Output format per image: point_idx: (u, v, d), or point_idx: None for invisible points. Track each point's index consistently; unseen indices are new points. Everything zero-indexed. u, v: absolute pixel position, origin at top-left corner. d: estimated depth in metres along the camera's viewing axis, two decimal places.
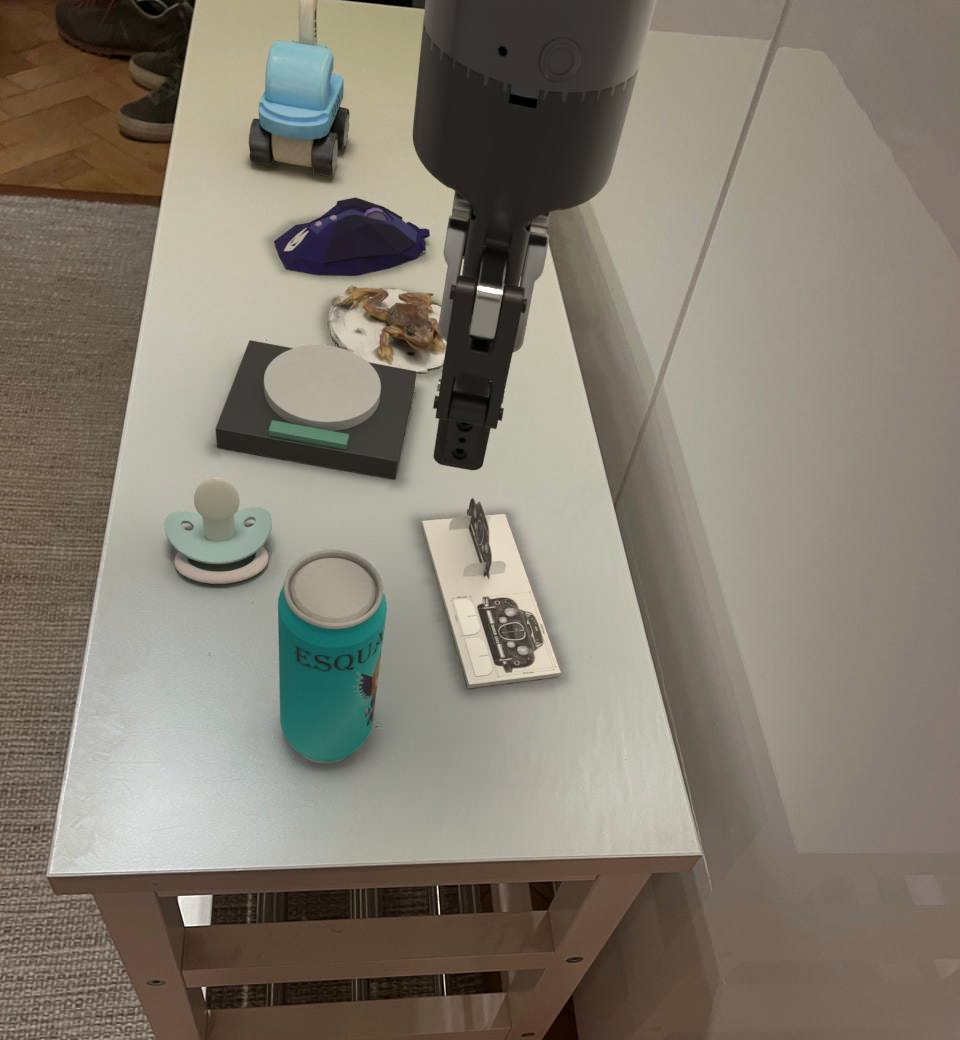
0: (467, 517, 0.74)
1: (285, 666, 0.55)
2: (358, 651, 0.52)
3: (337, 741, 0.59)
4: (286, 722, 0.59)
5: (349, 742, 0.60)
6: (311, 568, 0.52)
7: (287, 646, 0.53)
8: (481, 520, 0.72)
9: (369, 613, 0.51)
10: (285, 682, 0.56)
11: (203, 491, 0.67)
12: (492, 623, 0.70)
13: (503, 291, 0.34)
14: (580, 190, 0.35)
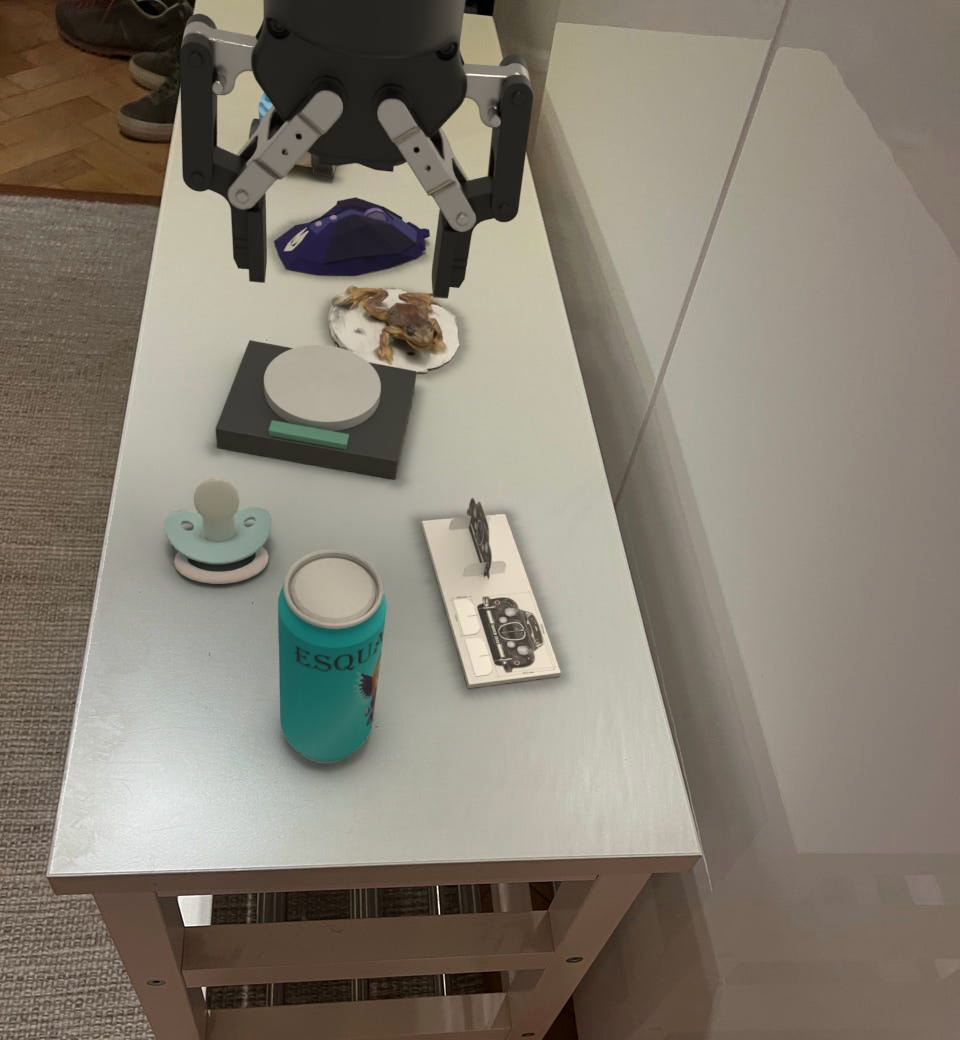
0: (467, 517, 0.74)
1: (285, 666, 0.55)
2: (358, 651, 0.52)
3: (337, 741, 0.59)
4: (286, 722, 0.59)
5: (349, 742, 0.60)
6: (311, 568, 0.52)
7: (287, 646, 0.53)
8: (481, 520, 0.72)
9: (369, 613, 0.51)
10: (285, 682, 0.56)
11: (203, 491, 0.67)
12: (492, 623, 0.70)
13: (190, 33, 0.37)
14: (288, 12, 0.35)
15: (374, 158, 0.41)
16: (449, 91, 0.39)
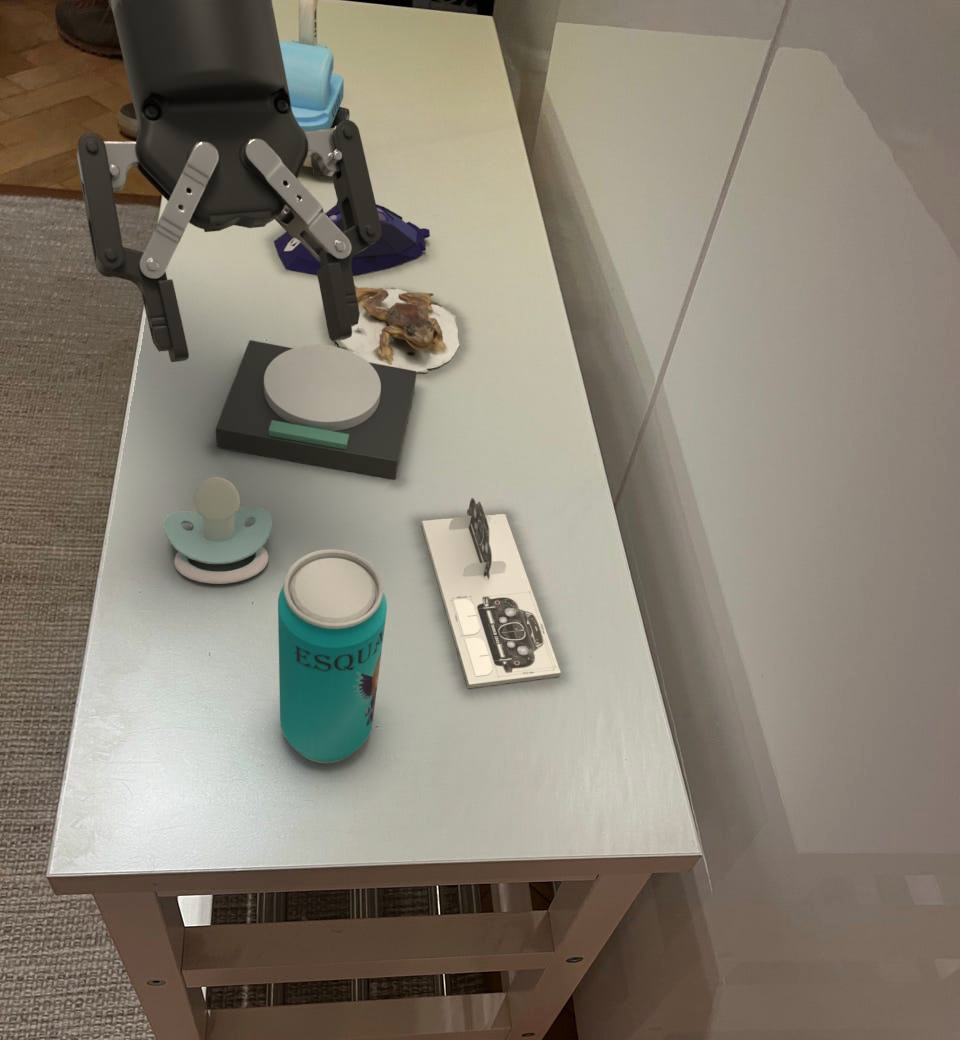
0: (468, 517, 0.74)
1: (285, 666, 0.55)
2: (358, 651, 0.52)
3: (337, 741, 0.59)
4: (286, 722, 0.59)
5: (349, 742, 0.60)
6: (311, 567, 0.52)
7: (287, 646, 0.53)
8: (481, 520, 0.72)
9: (369, 613, 0.51)
10: (285, 682, 0.56)
11: (203, 491, 0.67)
12: (492, 623, 0.70)
13: None
14: None
15: None
16: None
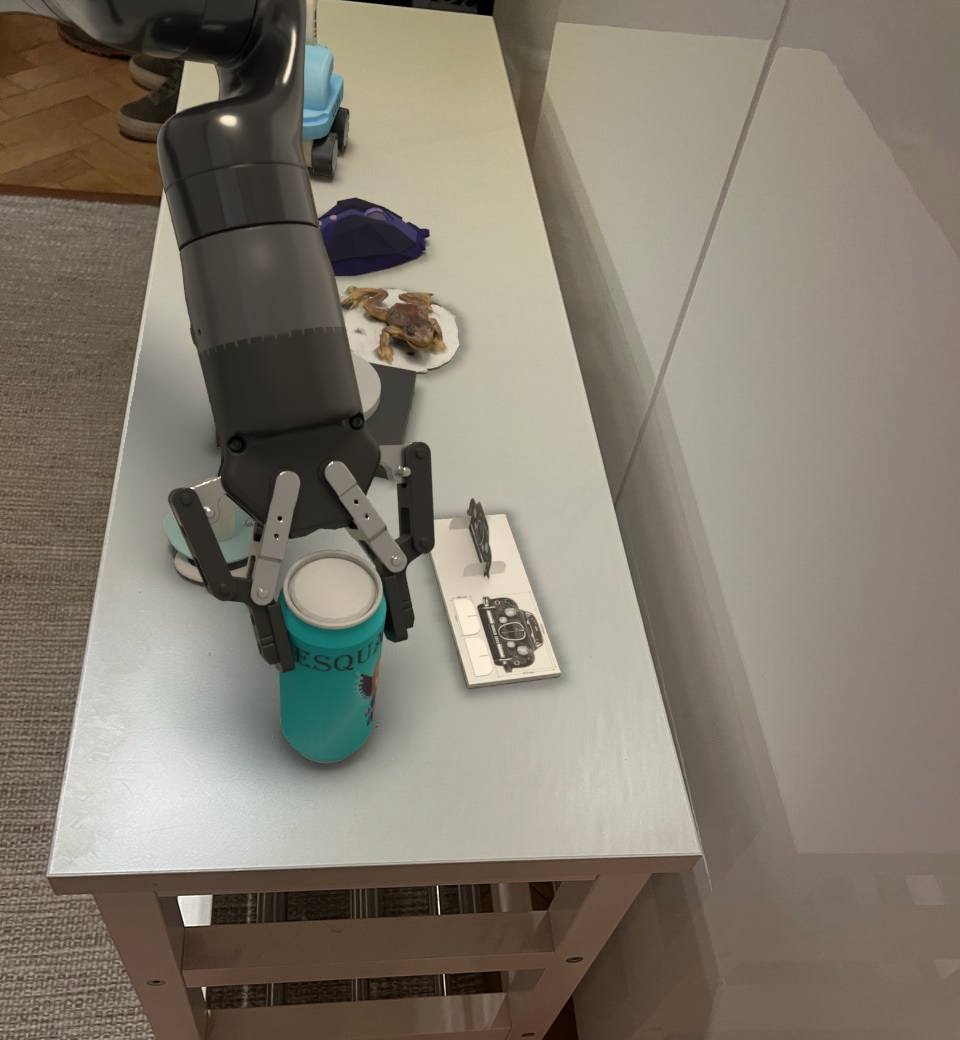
0: (468, 517, 0.74)
1: None
2: (358, 651, 0.52)
3: (337, 742, 0.59)
4: (286, 722, 0.59)
5: (349, 742, 0.60)
6: (311, 568, 0.52)
7: None
8: (481, 520, 0.72)
9: (369, 613, 0.51)
10: (285, 682, 0.56)
11: None
12: (492, 623, 0.70)
13: None
14: None
15: None
16: None
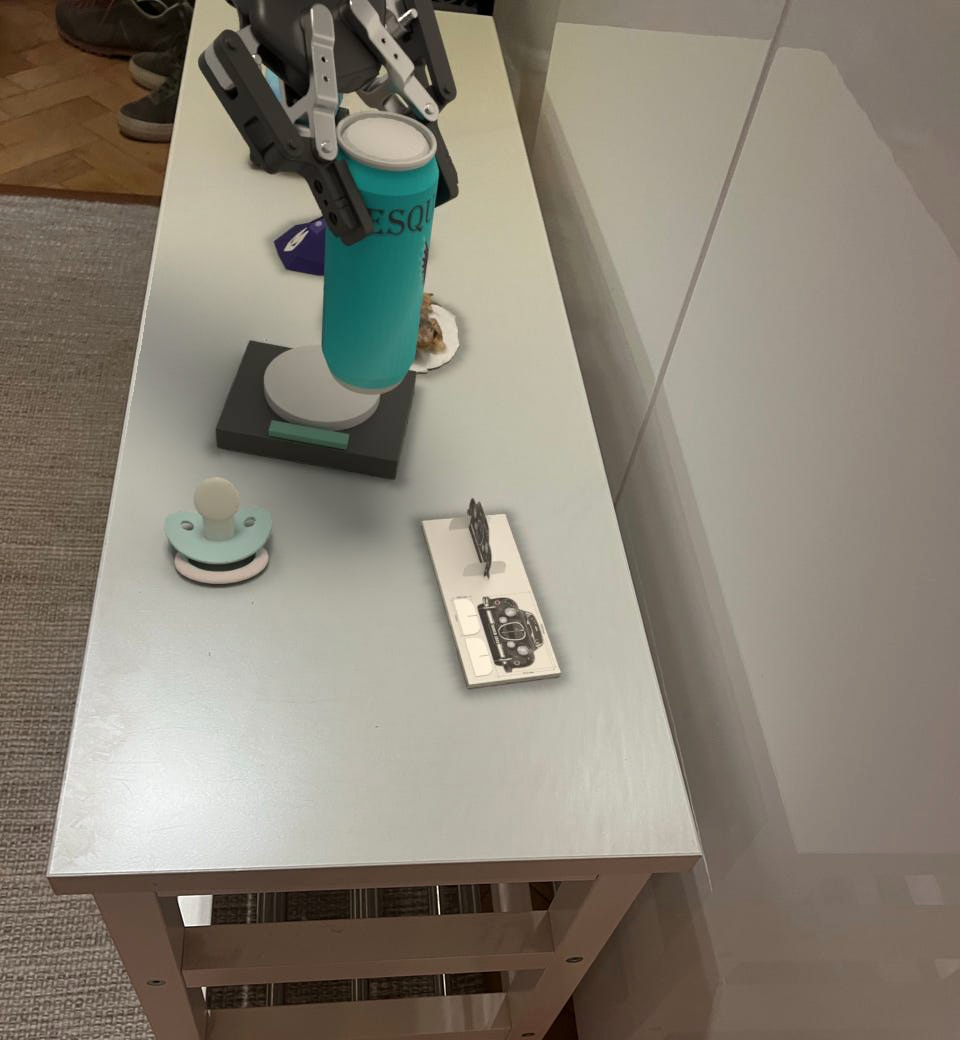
0: (468, 517, 0.74)
1: (348, 253, 0.53)
2: (427, 202, 0.52)
3: (399, 349, 0.58)
4: (343, 344, 0.58)
5: (408, 351, 0.59)
6: (356, 126, 0.50)
7: None
8: (481, 520, 0.72)
9: (433, 150, 0.50)
10: (346, 280, 0.54)
11: (203, 491, 0.67)
12: (492, 623, 0.70)
13: None
14: None
15: None
16: None
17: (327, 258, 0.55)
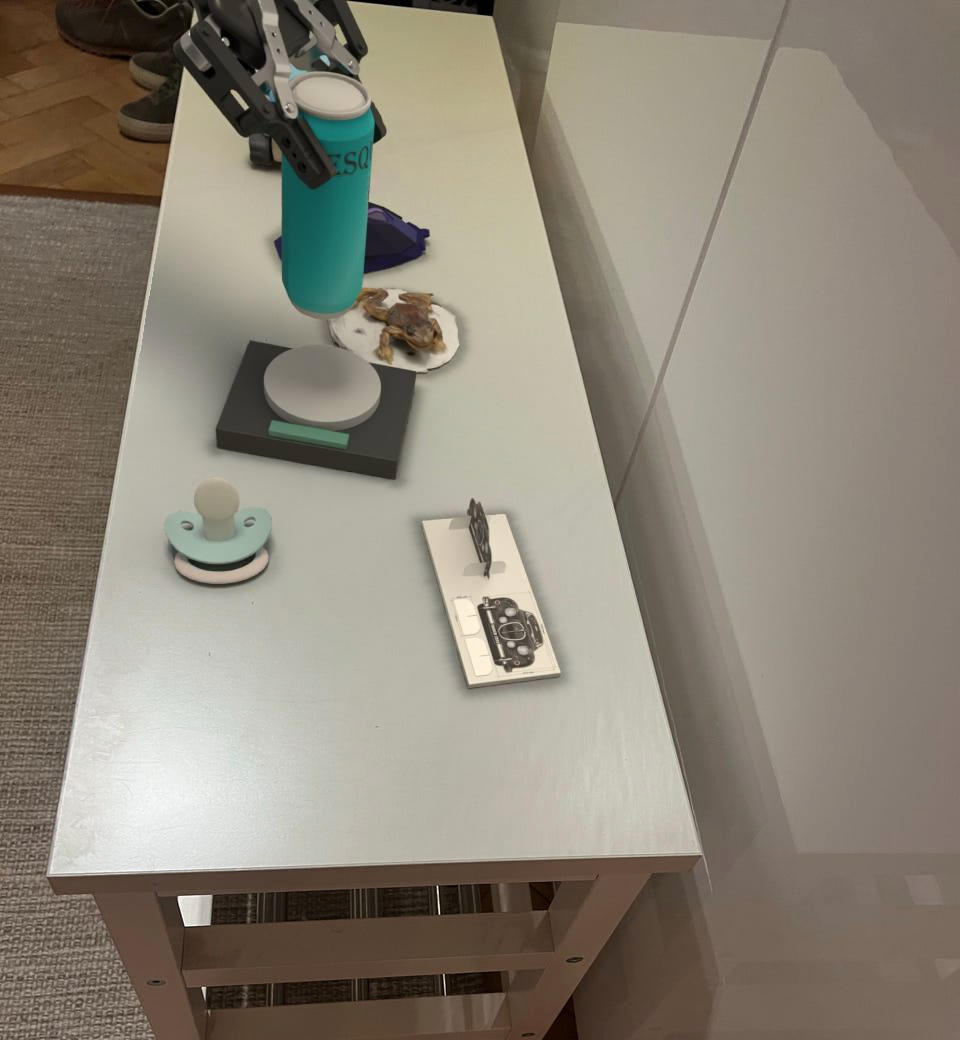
0: (468, 517, 0.74)
1: (311, 196, 0.63)
2: (370, 142, 0.62)
3: (355, 274, 0.69)
4: (309, 277, 0.68)
5: (360, 275, 0.70)
6: (301, 87, 0.60)
7: None
8: (481, 520, 0.72)
9: (370, 98, 0.61)
10: (310, 220, 0.64)
11: (203, 491, 0.67)
12: (492, 623, 0.70)
13: None
14: None
15: None
16: None
17: (288, 204, 0.65)
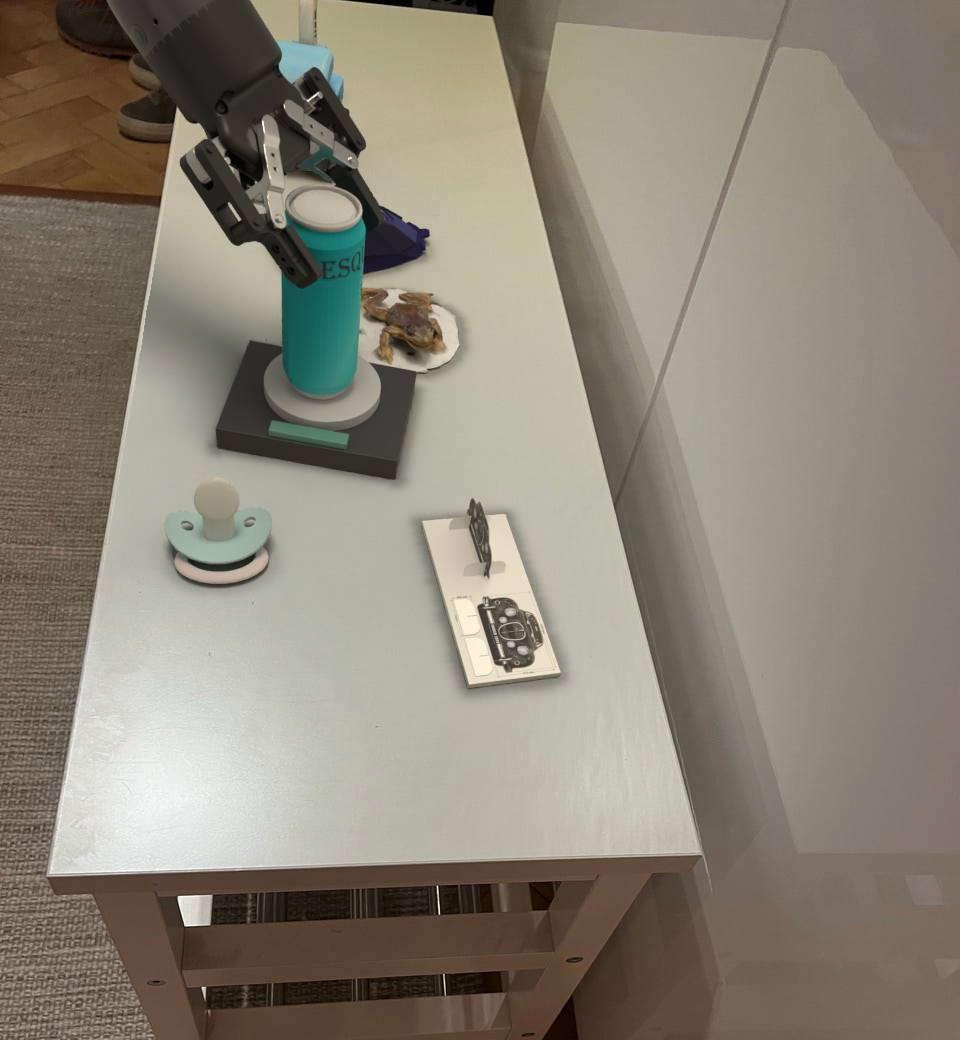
0: (468, 517, 0.74)
1: (308, 297, 0.69)
2: (362, 248, 0.68)
3: (350, 360, 0.75)
4: (308, 365, 0.74)
5: (355, 360, 0.76)
6: (298, 201, 0.66)
7: None
8: (481, 520, 0.72)
9: (361, 209, 0.67)
10: (308, 316, 0.70)
11: (203, 491, 0.67)
12: (492, 623, 0.70)
13: None
14: None
15: None
16: None
17: (288, 302, 0.71)
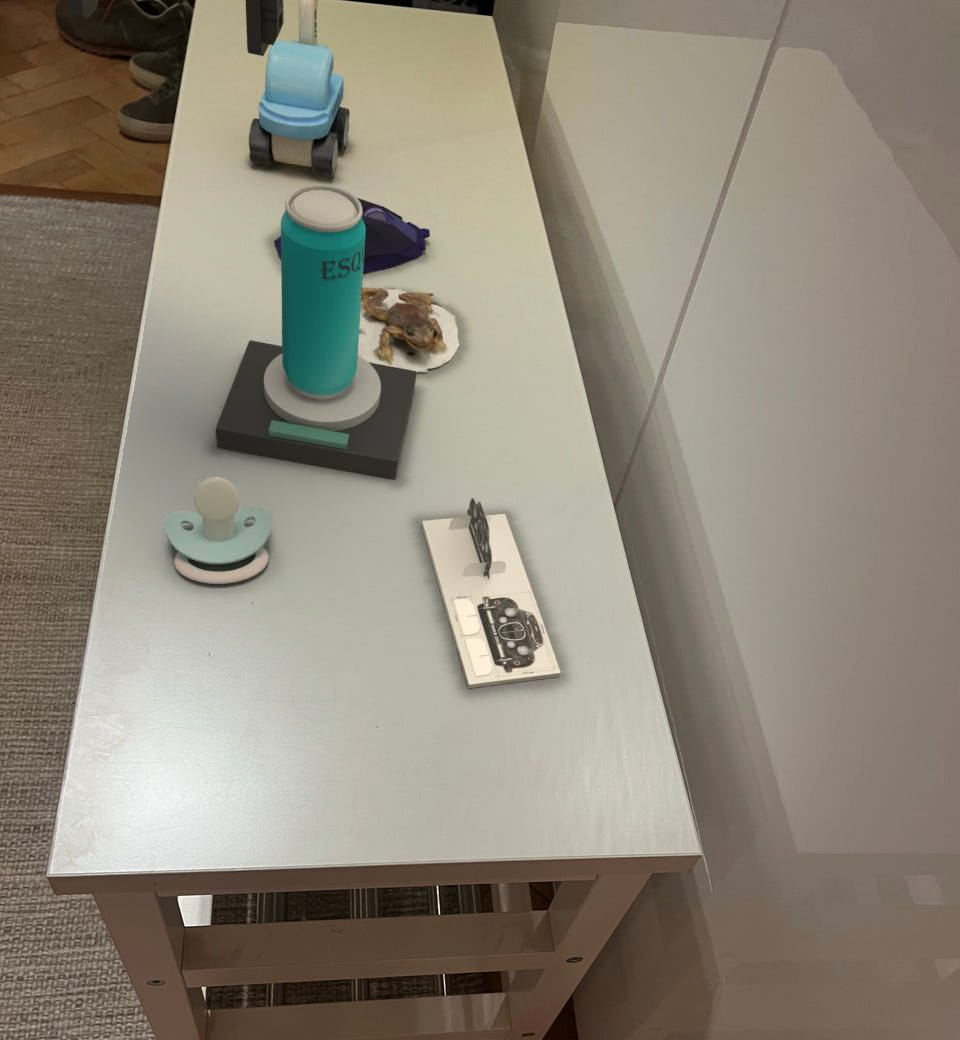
0: (468, 517, 0.74)
1: (308, 297, 0.69)
2: (362, 248, 0.68)
3: (350, 360, 0.75)
4: (308, 365, 0.74)
5: (355, 360, 0.76)
6: (298, 201, 0.66)
7: (312, 269, 0.67)
8: (482, 520, 0.72)
9: (361, 209, 0.67)
10: (308, 316, 0.70)
11: (203, 491, 0.67)
12: (492, 623, 0.70)
13: None
14: None
15: None
16: None
17: (288, 302, 0.71)
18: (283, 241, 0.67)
